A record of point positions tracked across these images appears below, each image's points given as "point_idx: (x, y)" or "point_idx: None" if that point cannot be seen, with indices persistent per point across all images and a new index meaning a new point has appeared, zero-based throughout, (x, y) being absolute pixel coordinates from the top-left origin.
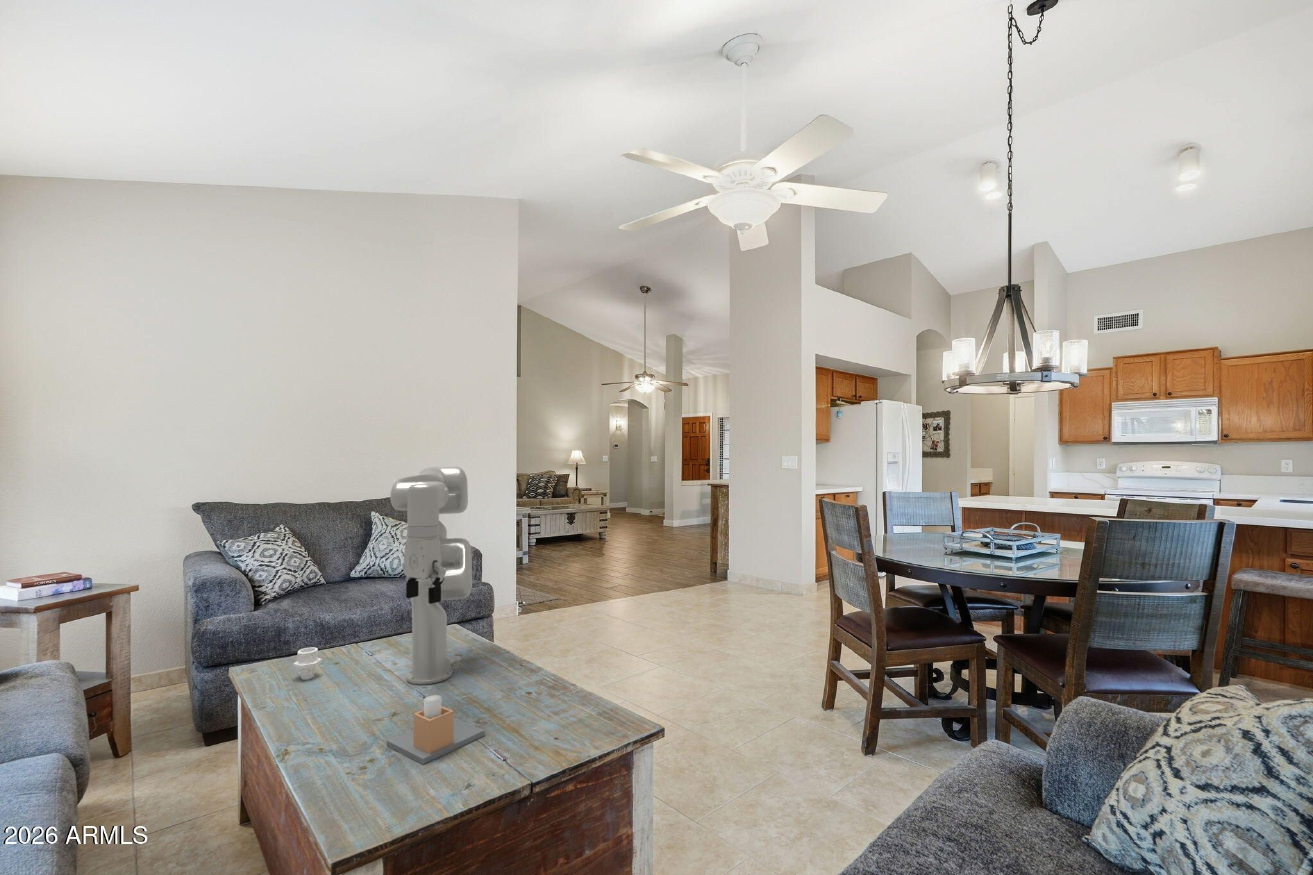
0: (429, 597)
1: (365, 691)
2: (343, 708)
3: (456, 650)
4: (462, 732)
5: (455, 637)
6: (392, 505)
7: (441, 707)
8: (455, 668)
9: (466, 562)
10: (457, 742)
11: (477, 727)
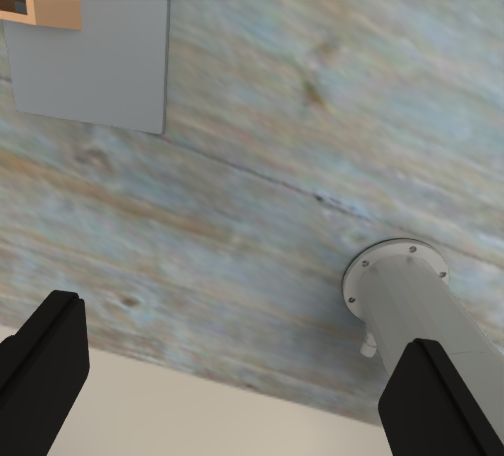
0: (26, 329)
1: (493, 160)
2: (477, 53)
3: None
4: (45, 74)
5: None
6: None
7: (2, 11)
8: None
9: None
10: (4, 23)
11: (42, 113)
